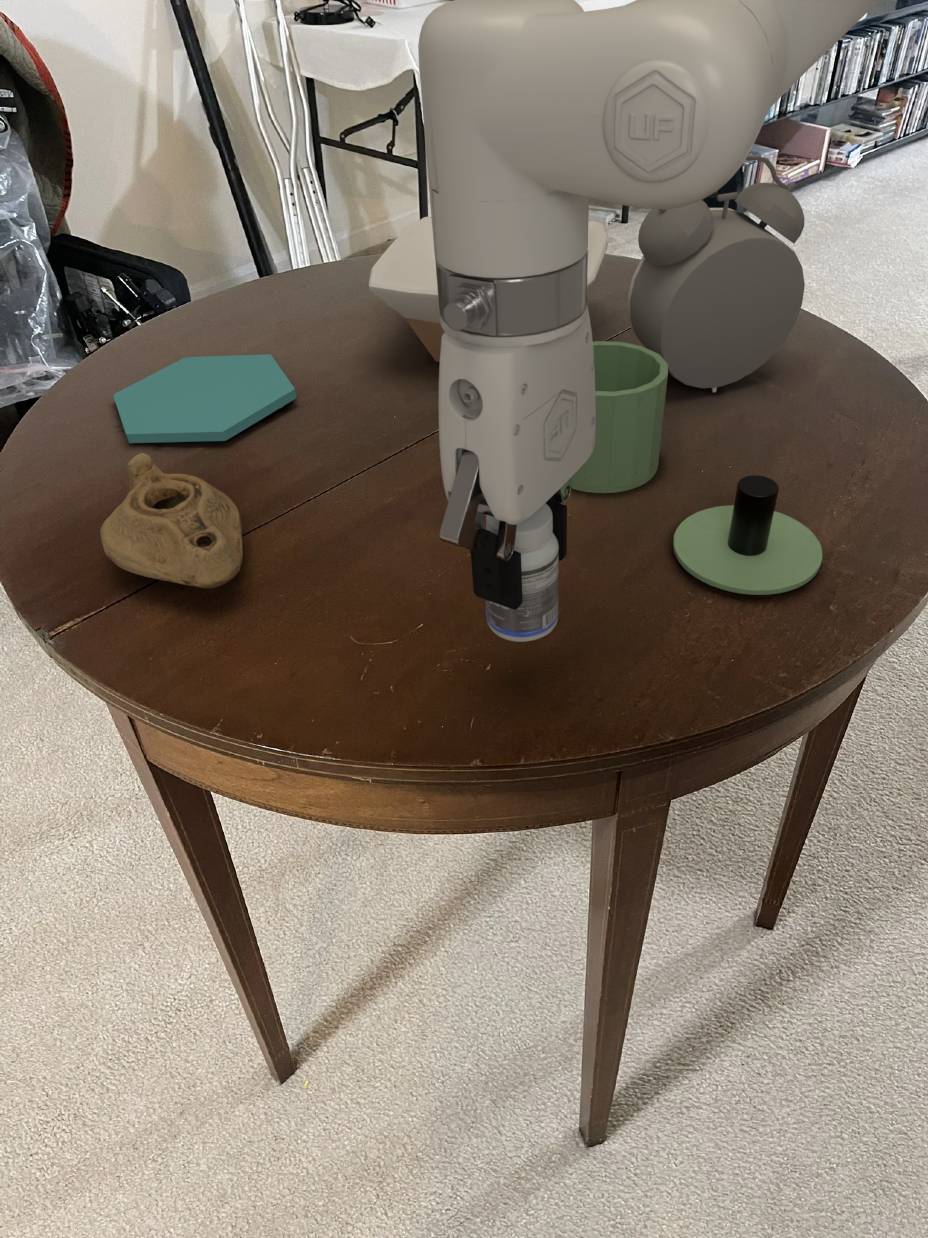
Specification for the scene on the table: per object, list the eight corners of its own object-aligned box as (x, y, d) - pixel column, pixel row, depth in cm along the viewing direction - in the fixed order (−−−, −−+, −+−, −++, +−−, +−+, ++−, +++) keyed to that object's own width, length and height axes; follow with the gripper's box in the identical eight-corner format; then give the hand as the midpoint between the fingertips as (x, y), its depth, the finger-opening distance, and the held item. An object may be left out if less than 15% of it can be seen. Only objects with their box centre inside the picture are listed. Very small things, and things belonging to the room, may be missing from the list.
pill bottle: (474, 610, 62) (466, 504, 56) (538, 590, 63) (536, 484, 58) (505, 653, 58) (499, 544, 53) (571, 630, 60) (572, 521, 54)
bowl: (362, 386, 100) (350, 288, 93) (423, 298, 118) (417, 210, 111) (582, 401, 95) (587, 299, 88) (611, 307, 113) (616, 216, 106)
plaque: (84, 452, 93) (275, 449, 90) (77, 434, 92) (271, 431, 89) (149, 372, 106) (318, 368, 103) (144, 356, 105) (314, 351, 102)
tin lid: (704, 502, 80) (714, 434, 76) (838, 540, 75) (856, 469, 71) (648, 572, 73) (656, 501, 69) (792, 619, 68) (810, 546, 64)
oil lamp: (193, 638, 69) (166, 552, 64) (83, 564, 77) (52, 482, 72) (303, 568, 75) (286, 484, 70) (191, 506, 83) (169, 426, 78)
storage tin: (576, 425, 91) (580, 332, 85) (675, 451, 87) (687, 355, 81) (523, 474, 85) (523, 377, 79) (627, 505, 80) (636, 405, 74)
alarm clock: (750, 352, 102) (786, 132, 88) (795, 385, 96) (842, 154, 81) (613, 379, 98) (628, 154, 84) (651, 415, 92) (674, 179, 78)
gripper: (485, 370, 40) (502, 678, 52) (651, 245, 50) (633, 524, 62) (349, 340, 43) (393, 635, 55) (531, 229, 54) (536, 496, 65)
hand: (521, 573), depth 58 cm, fingers closed on pill bottle, 4 cm apart
